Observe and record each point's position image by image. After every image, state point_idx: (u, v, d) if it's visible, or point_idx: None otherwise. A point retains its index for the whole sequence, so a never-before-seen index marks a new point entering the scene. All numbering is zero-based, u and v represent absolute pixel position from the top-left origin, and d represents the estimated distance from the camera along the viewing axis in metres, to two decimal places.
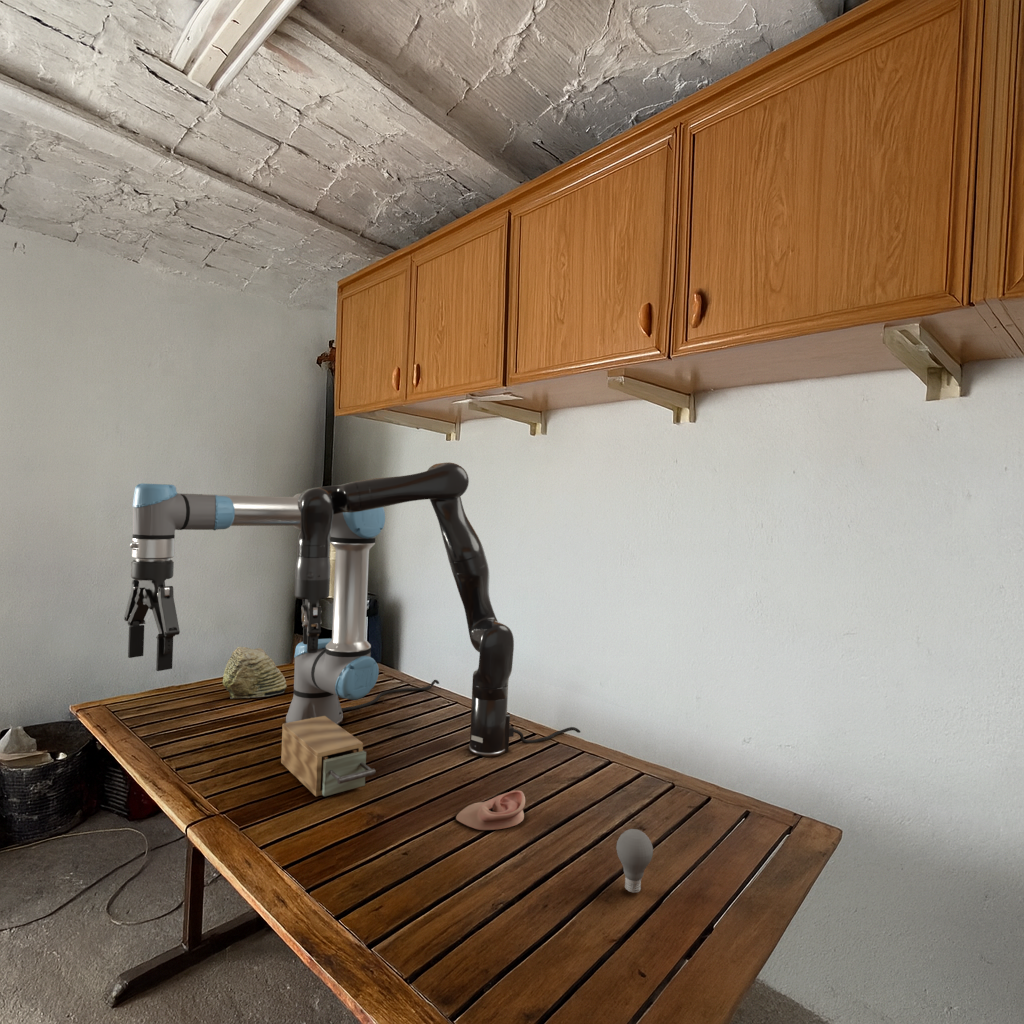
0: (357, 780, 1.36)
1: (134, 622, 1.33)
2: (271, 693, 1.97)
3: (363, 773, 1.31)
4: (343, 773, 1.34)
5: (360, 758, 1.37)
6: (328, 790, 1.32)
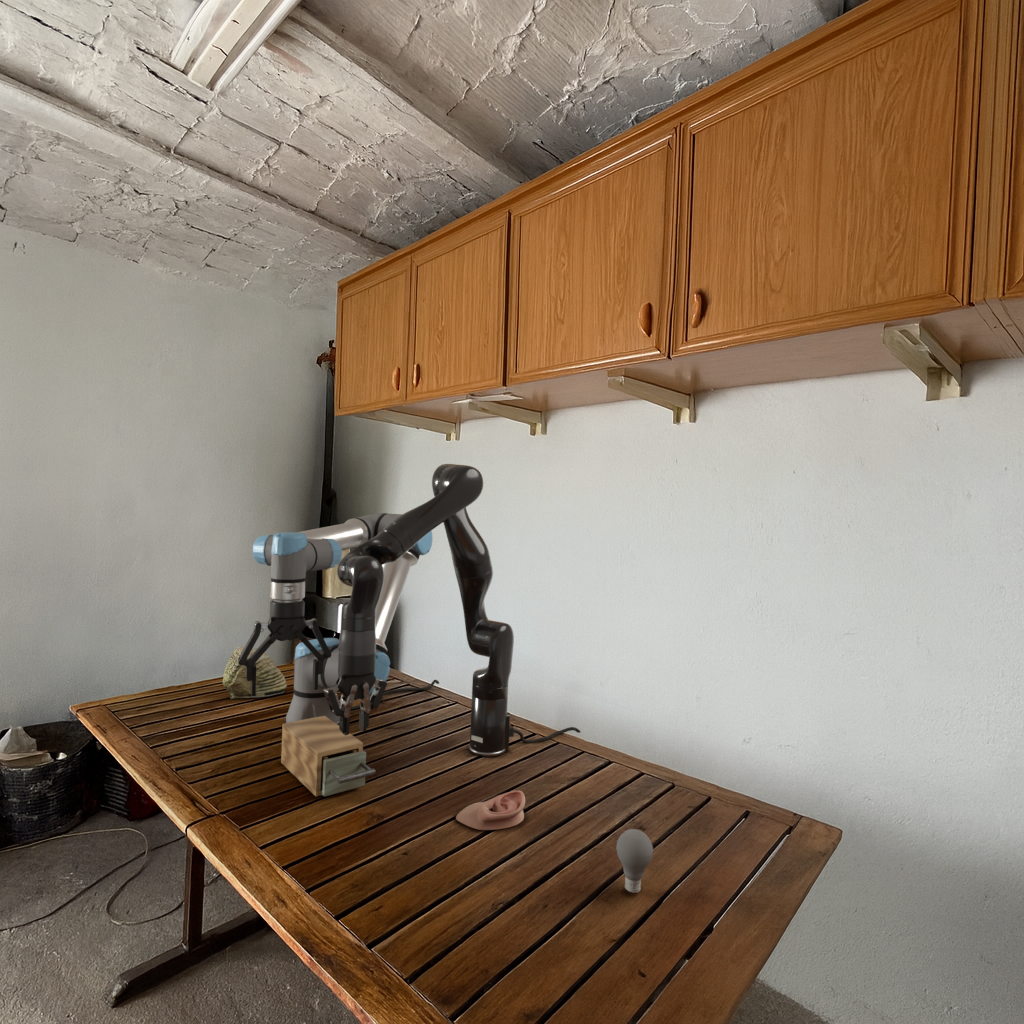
0: (357, 780, 1.36)
1: None
2: (271, 693, 1.97)
3: (363, 773, 1.31)
4: (343, 773, 1.34)
5: (360, 758, 1.37)
6: (328, 790, 1.32)
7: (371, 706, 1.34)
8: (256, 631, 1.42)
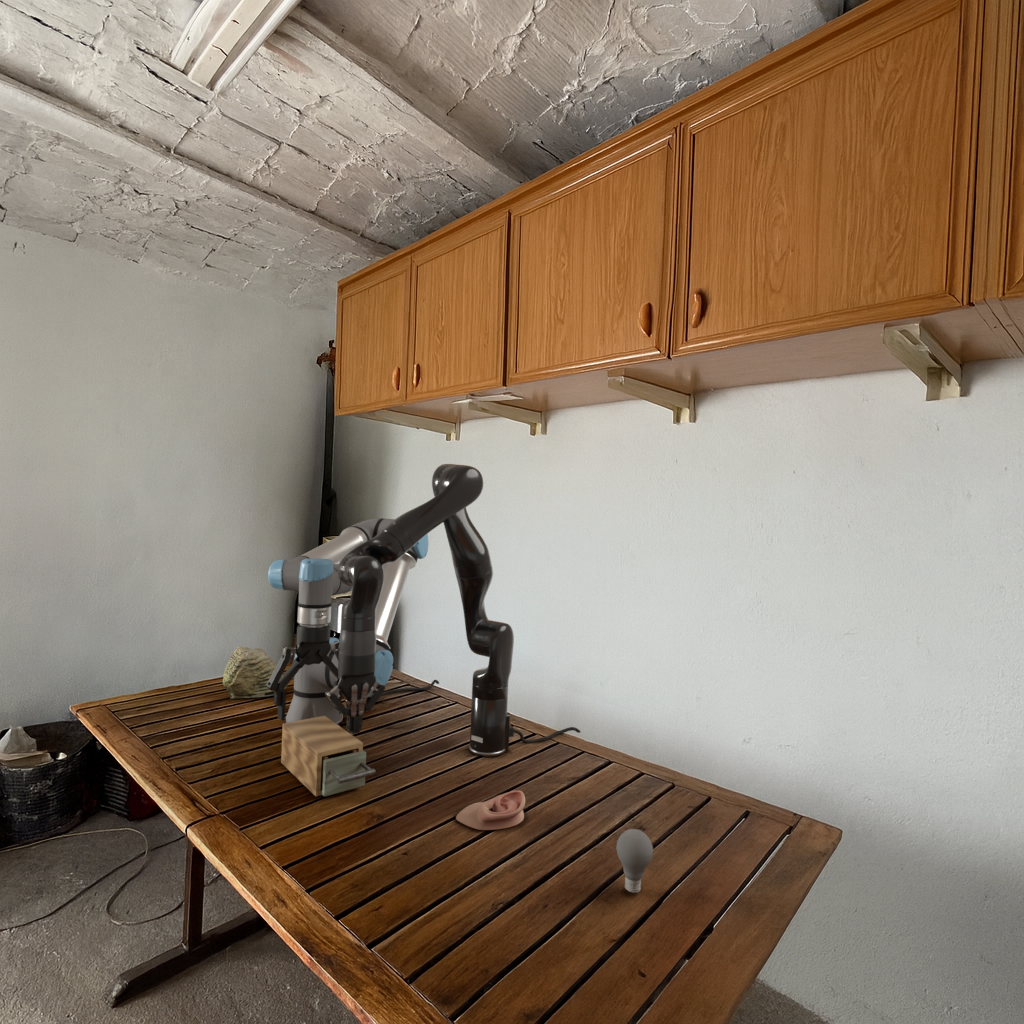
0: (357, 780, 1.36)
1: None
2: (271, 693, 1.97)
3: (363, 773, 1.31)
4: (343, 773, 1.34)
5: (360, 758, 1.37)
6: (328, 790, 1.32)
7: (365, 709, 1.33)
8: (286, 656, 1.44)
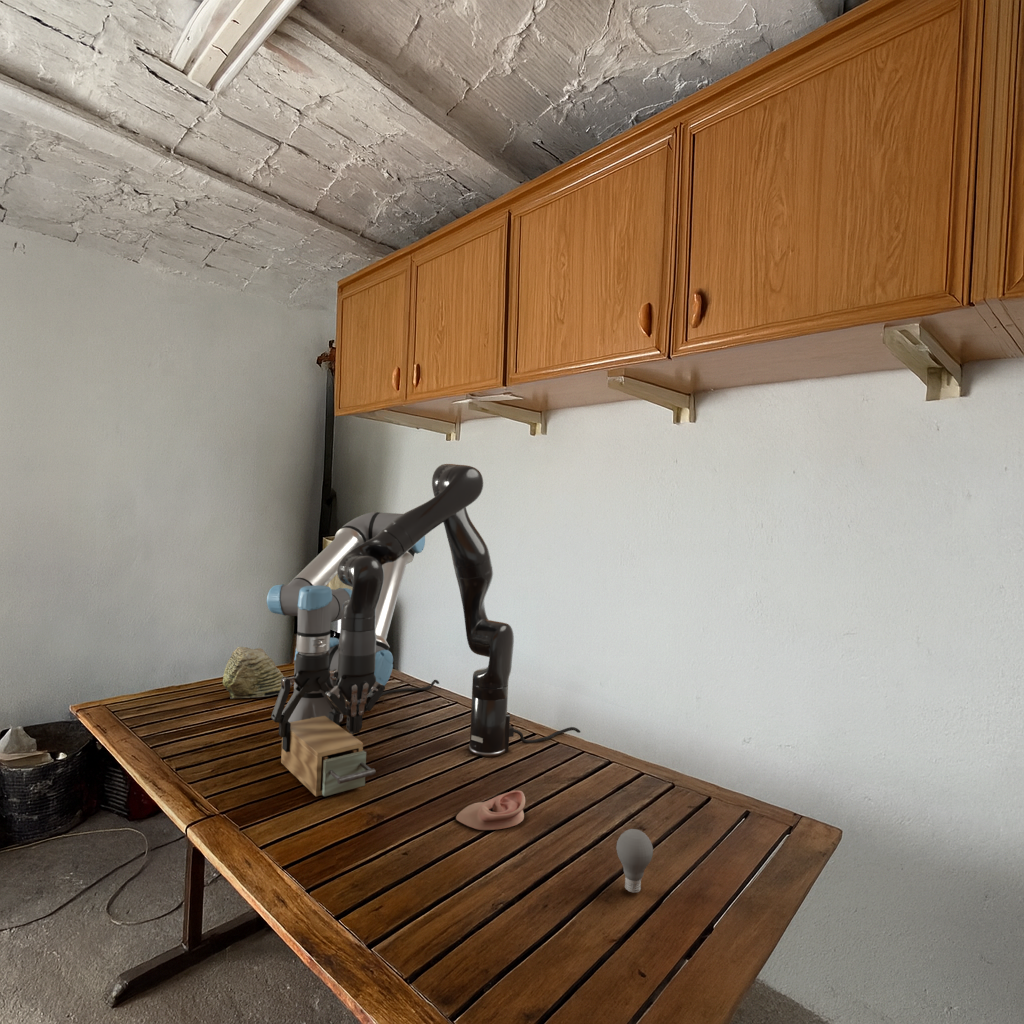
0: (357, 780, 1.36)
1: None
2: (271, 693, 1.97)
3: (363, 773, 1.31)
4: (343, 773, 1.34)
5: (360, 758, 1.37)
6: (328, 790, 1.32)
7: (365, 709, 1.33)
8: (286, 687, 1.45)
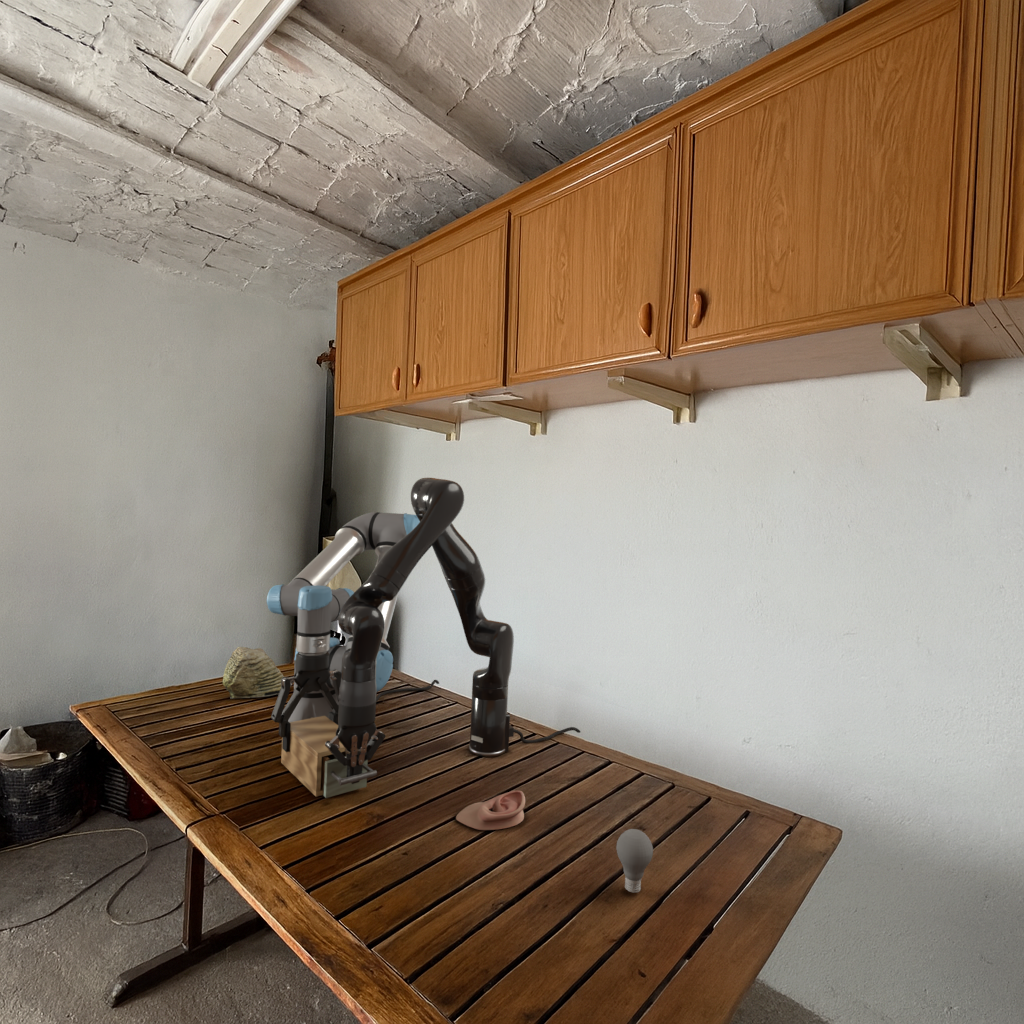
0: (359, 781, 1.36)
1: None
2: (271, 693, 1.97)
3: (365, 774, 1.31)
4: (344, 774, 1.34)
5: None
6: (329, 791, 1.32)
7: (365, 758, 1.32)
8: (286, 687, 1.45)
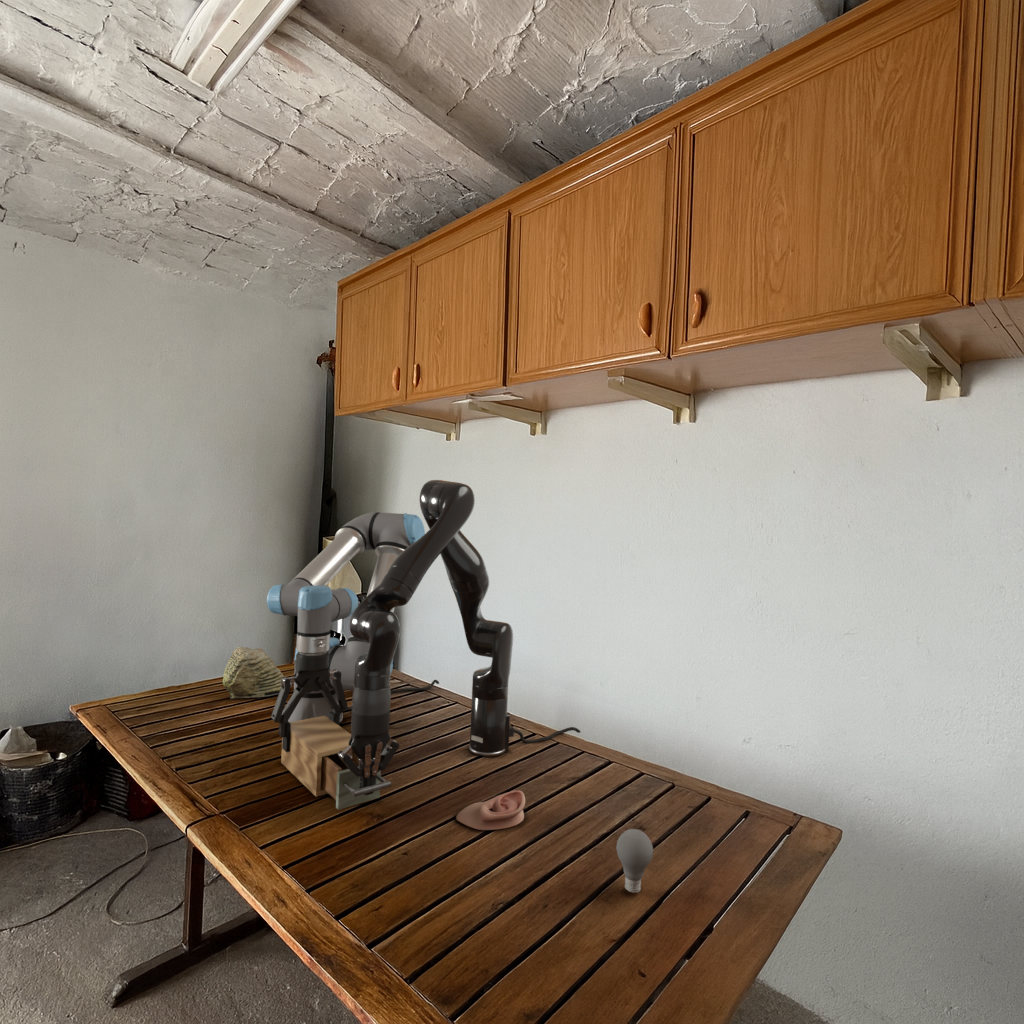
0: None
1: None
2: (271, 693, 1.97)
3: (379, 785, 1.26)
4: (357, 785, 1.29)
5: None
6: (341, 803, 1.27)
7: (378, 768, 1.27)
8: (286, 687, 1.45)
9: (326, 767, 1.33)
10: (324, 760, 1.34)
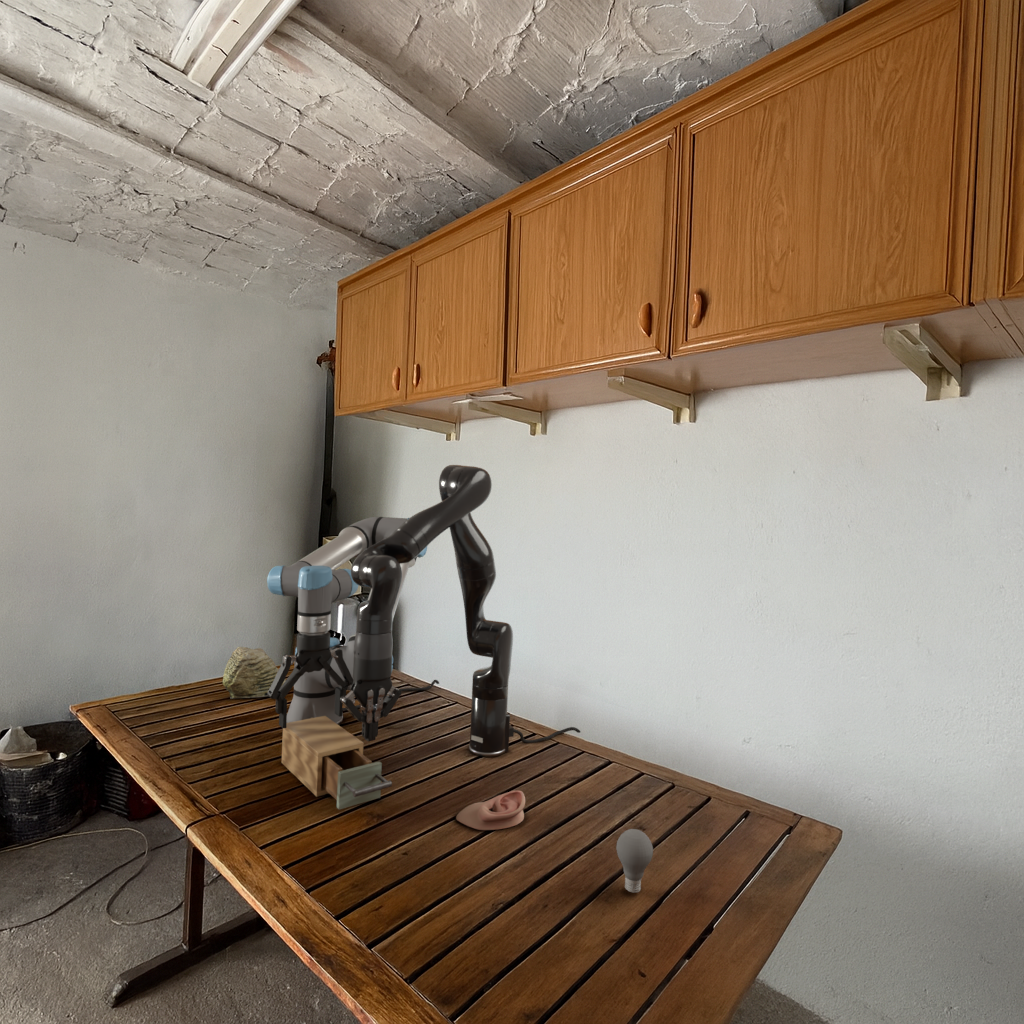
0: (372, 792, 1.31)
1: None
2: None
3: (380, 785, 1.26)
4: (358, 785, 1.29)
5: (375, 769, 1.31)
6: (342, 803, 1.27)
7: (381, 715, 1.27)
8: (287, 665, 1.45)
9: (327, 767, 1.33)
10: (325, 760, 1.34)
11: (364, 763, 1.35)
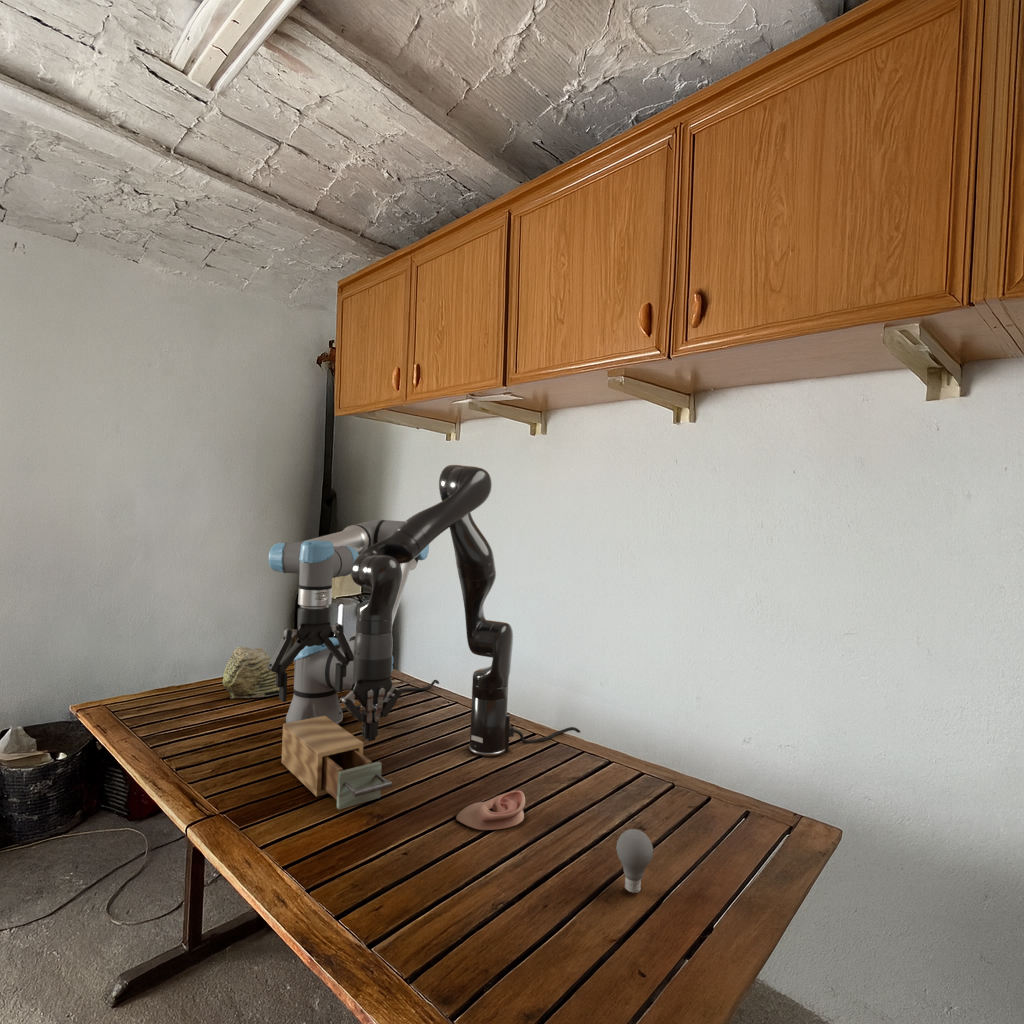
0: (372, 792, 1.31)
1: None
2: (271, 693, 1.97)
3: (380, 785, 1.26)
4: (358, 785, 1.29)
5: (375, 769, 1.31)
6: (342, 803, 1.27)
7: (381, 715, 1.27)
8: (287, 638, 1.44)
9: (327, 767, 1.33)
10: (325, 760, 1.34)
11: (364, 763, 1.35)
